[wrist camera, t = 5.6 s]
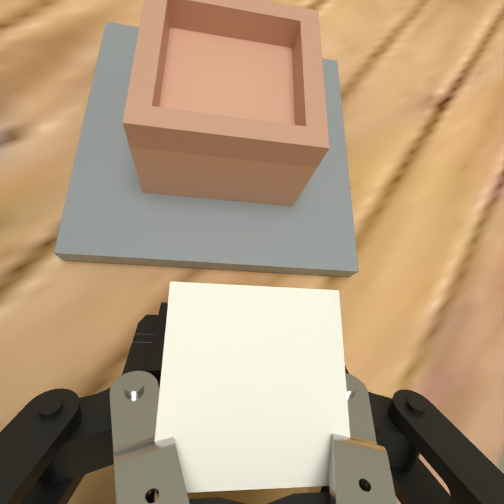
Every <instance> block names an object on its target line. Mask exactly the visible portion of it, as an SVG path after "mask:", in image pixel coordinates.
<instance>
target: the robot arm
mask: <svg viewBox="0 0 504 504" xmlns="http://www.w3.org/2000/svg"><path fill="white" fill-rule="evenodd" d="M167 309H168V303H163V302H162V303H161V307H160V311H159V315H146V316H145V317H144V318H143V319H142V320H141V321H140V322H139V323H138V326H137V329H136V332H135V336H134V339H133V343H132V345H131V348H130V351H129V355H128V358H127V361H126V364H125V367H124V371H123V373H122V376H120V377H119V378H117V379H116V380H115V381H114V383H113V384H112V386H111V387H110V388H109V389H107V390H105V391H103V392H100V393H97V394H94V395H90V396H86V397H82V398H79V397H78V396H77V394H76V393H75V392H73V391H71V390H68V389H54V390H50V391H47V392H44V393H42V394H40V395H38V396H37V397H35V398H34V399H32V400H31V401H30V402H29V403H28V404H27V405H26V406H25V407H24V408H23V409H22V410H21V411H20V412H19V413H18V414H17V415H16V416H15V418H14V419H13V420H12V421H11V422H10V423H9V424H8V425H7V426H6V427H5V428H4V429H3V430H2V431H1V432H0V504H67V503H68V501H69V499H70V498H71V496H72V494H73V493H74V491H75V490H76V488H77V486H78V485H79V483H80V482H81V480H82V478H83V477H84V475H85V474H87V473H90V472H93V471H95V470H98V469H101V468H104V467H107V466H109V465H112V464H114V473H115V489H116V504H244V503H240V502H236V501H232V500H227V499H223V498H203V499H188V495H187V491H186V487H185V482H184V478H183V474H182V470H181V465H180V461H179V457H178V452H177V448H176V444H175V441H174V438H173V437H171V438H167V439H163V440H159V441H155V432H156V421H157V411H158V401H159V391H160V380H161V370H162V360H163V350H164V340H165V329H166V319H167ZM345 376H346V389H347V402H348V414H349V427H350V437H346V436H342V435H337V434H333V433H332V440H331V448H330V456H329V464H328V472H327V479H328V481H329V486H315V487H309V489H308V493H298V494H292V495H289V496H286V497H284V498H281V499H279V500H276V501H273V502H271V503H268V504H397V501H396V497H397V498H398V500H399V501H400V502H401V504H504V474H503V473H502V472H501V471H500V470H499V469H498V468H497V467H496V466H495V465H494V464H493V463H492V462H491V461H490V460H489V459H488V458H487V457H486V456H485V455H484V454H483V453H482V452H481V451H480V450H479V449H478V448H477V447H476V446H475V445H473V444H472V443H471V442H470V441H469V440H468V439H467V438H466V437H465V436H464V435H463V434H462V433H461V432H460V431H459V430H458V429H457V428H456V427H455V426H454V425H453V424H452V423H451V422H450V421H449V420H448V419H447V418H446V417H445V416H444V415H443V414H442V413H441V412H440V411H439V410H438V409H437V408H436V407H435V406H434V405H433V404H432V403H431V402H430V401H429V400H427V399H426V398H425V397H423V396H422V395H420V394H418V393H416V392H413V391H410V390H399V391H397V392H396V393H395V394H394V396H393V398H392V399H391V398H388V397H384V396H381V395H377V394H373V393H371V392H368V390H367V388H366V387H365V385H364V384H363V383H362V382H361V381H360V380H359V379H357V378H356V377H354V376H352V375H350V374H349V373H348V371H347V369H346V367H345ZM420 454H421V455H422V456H423V457H424V458H425V459H426V461H427V462H428V463H429V464H430V465H431V467H432V468H433V469H434V470H435V471H436V472H437V474H438V475H439V476H440V477H441V478H442V479H443V481H444V482H445V483H446V485H447V487H448V489H449V491H450V495H451V496H450V495H449V494H448V492H447V491H446V490H445V489H444V488H443V486H442V485H441V484H440V483H439V482H438V480H437V479H436V478H435V477H434V476H433V475H432V473H431V472H430V471H429V470H428V469H427V467H426V466H425V465H424V464H423V463H422V461H421V460H420V459H419V458H418V456H419V455H420Z"/></svg>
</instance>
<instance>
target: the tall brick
mask: <svg viewBox="0 0 504 504" xmlns="http://www.w3.org/2000/svg"><path fill="white" fill-rule="evenodd" d="M332 433H333V434H337V435H342V436H346V437H350V427H349V414H348V402H347V389H346V376H345V363H344V351H343V338H342V325H341V312H340V300H339V290H323V289H304V288H285V287H265V286H246V285H227V284H208V283H188V282H170V289H169V299H168V309H167V319H166V329H165V340H164V350H163V360H162V370H161V380H160V391H159V401H158V411H157V421H156V432H155V441H159V440H163V439H167V438H171V437H173V438H174V441H175V444H176V448H177V452H178V457H179V461H180V465H181V470H182V474H183V478H184V482H185V487H186V491H187V493H192V492H212V491H233V490H253V489H274V488H295V487H315V486H329V481H328V479H327V472H328V464H329V456H330V448H331V440H332Z"/></svg>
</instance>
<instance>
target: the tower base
mask: <svg viewBox="0 0 504 504" xmlns="http://www.w3.org/2000/svg"><path fill="white" fill-rule="evenodd" d="M54 253H55V254H56V255H57V256H58V257H60V258H61V259H62V260H67V261H84V262H101V263H119V264H136V265H153V266H170V267H187V268H204V269H222V270H239V271H256V272H273V273H290V274H307V275H325V276H342V277H350V276H352V275H353V274H355V273H357V272H359V271H358V261H357V251H356V242H355V232H354V222H353V212H352V202H351V192H350V182H349V173H348V163H347V153H346V143H345V133H344V123H343V113H342V104H341V94H340V84H339V74H338V64H337V61H335V60H329V59H323V58H322V50H321V37H320V25H319V13H318V11H317V10H312V9H307V8H302V7H297V6H291V5H286V4H281V3H276V2H271V1H265V0H144V4H143V10H142V15H141V21H140V27H134V26H128V25H122V24H116V23H110V22H106V25H105V29H104V34H103V38H102V43H101V47H100V51H99V56H98V60H97V65H96V69H95V74H94V78H93V82H92V87H91V91H90V96H89V100H88V105H87V109H86V113H85V118H84V122H83V127H82V131H81V136H80V140H79V144H78V149H77V153H76V158H75V162H74V167H73V171H72V175H71V180H70V184H69V189H68V193H67V198H66V202H65V206H64V211H63V215H62V220H61V224H60V228H59V233H58V237H57V242H56V246H55V251H54Z"/></svg>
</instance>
